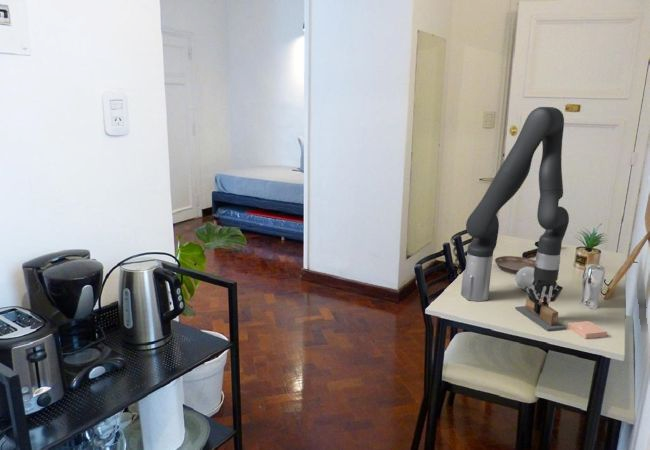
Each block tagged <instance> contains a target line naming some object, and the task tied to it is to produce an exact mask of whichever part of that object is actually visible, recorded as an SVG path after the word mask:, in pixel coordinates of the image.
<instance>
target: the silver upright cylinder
mask: <svg viewBox="0 0 650 450" xmlns="http://www.w3.org/2000/svg"><path fill="white" fill-rule="evenodd" d="M605 275H606V267H604V266H601V265H599V264H593V263H589V264H584V269H583V273H582V277H581V278H582V280H581V284H582V285H581V287H582V290H581V291H582V295H581V298H580V302H579V305H580V306H582V307H584V308H587V309H594V310H595V309H597V308H599V297H600V295H601V291H602V288H603V286H604V283H605Z"/></svg>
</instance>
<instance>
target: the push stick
mask: <svg viewBox="0 0 650 450" xmlns="http://www.w3.org/2000/svg"><path fill="white" fill-rule="evenodd" d="M534 305H535V303H534V302H532V301H531V300H530V299H529V297H528V295H527V296H526V298H525V305H524V306H525V308H526V309H528V310H529V311H531V312H532V313H534V314H535V315H537V316H538V317H540V318H541V319H543V320H544V321H546V322H547V323H549V324H550V325H556V324H557V322H558V317H559V311H557V310H555V309H554V308H552V307H551V306H550V305H549V306H548V305H545V304H544V303H541V309H540V314H537V313H535V311H534Z"/></svg>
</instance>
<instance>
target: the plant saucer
mask: <svg viewBox="0 0 650 450" xmlns="http://www.w3.org/2000/svg"><path fill="white" fill-rule="evenodd" d="M535 260H536V259H535ZM535 260H534V259H532V258H523V257H522V256H516V255H513V256H512V255H503V256H498V257H496V258H494V263H495V264H496V266H498V268H499V269H500V270H501V271H504V272H506V273H509V274H512V275H516V273H517V272H518V271H519V270H520V269H521V268H524V267H532V268H535Z"/></svg>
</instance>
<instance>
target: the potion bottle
mask: <svg viewBox="0 0 650 450" xmlns="http://www.w3.org/2000/svg"><path fill="white" fill-rule="evenodd" d="M514 281H515V282H516V285H517V286H518V287H519V288H520V289H521V290H524V291H526V290H525V287H526V286H528V287H530V286H531V285H532V283H533V281H534V268H532V267H524V268H521V269H520V270H519V271H518V272H517V273H516V274H515V279H514ZM534 291H535V289H534Z"/></svg>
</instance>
